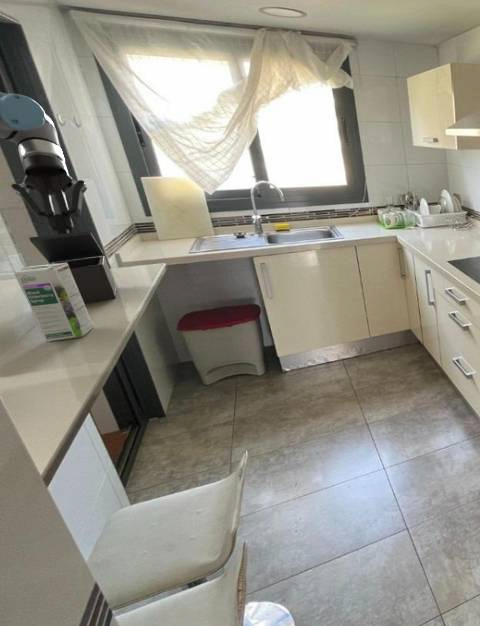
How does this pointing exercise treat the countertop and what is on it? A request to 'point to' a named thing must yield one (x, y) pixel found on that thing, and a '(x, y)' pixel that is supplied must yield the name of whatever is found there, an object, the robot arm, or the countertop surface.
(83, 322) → the syrup box
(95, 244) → the lid
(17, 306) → the countertop surface
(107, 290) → the dark brown box
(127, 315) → the countertop surface
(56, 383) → the countertop surface
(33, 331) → the countertop surface
